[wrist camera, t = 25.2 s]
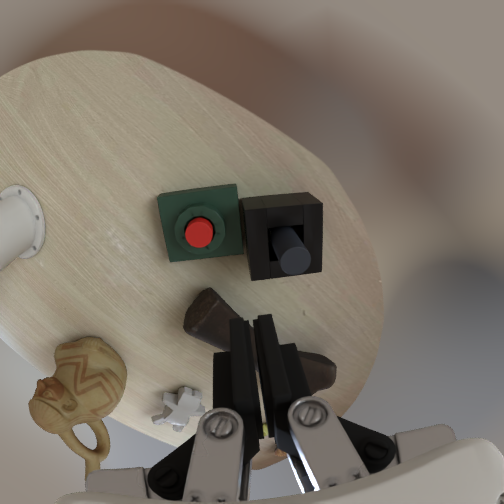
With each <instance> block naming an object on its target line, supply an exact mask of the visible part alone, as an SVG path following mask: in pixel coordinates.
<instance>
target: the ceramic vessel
mask: <svg viewBox="0 0 504 504" xmlns="http://www.w3.org/2000/svg"><path fill="white" fill-rule="evenodd" d="M54 358H55V362H56V367H57V368H56V371H55V373H54V375H53V377H50V378H49V377H46V378H44V379H43V380H41V379H39V380H38V381H37V388H36V390H35V394H34V396H33V398H32V399H31V400H30V401H29V403H28V404H29V410H30V414H31V416H32V418H33V420H34V421H35V423H36V424H37V425H38V426H39V427H41V428H42V429H43V430H45V431H47V432H49V433H52V434H58V435H59V436H60V437H61V439H62V440H63V441H64V442H65V444H66V445H67V446H68V447H69V448H70V449H71V450H72V451H74V452H75V453H76V454H78V455H79V456H81V457H82V458H84V459H85V466H86V468H85V481H86V477H87V476H88V474H89V473H90V472H92V471H94V470H99V469H100V462H102V461H104V460H105V459H106V458H107V456H108V454H109V450H110V438H109V434H108V432H107V429H106V427H105V425H104V423H103V421H102V420H101V419H102V418H104V417H106V416H107V415H109V414H110V413H111V412H112V411H113V410H114V409H115V408H116V406H117V405H118V403H119V402H120V400H121V398H122V396H123V393H124V390H125V386H126V380H127V370H126V367H125V364H124V362H123V360H122V359H121V357H120V356H119V355H118V354H117V353H116V351H115V350H114V349H113V348H111V347H110V346H109V345H108V344H106V343H105V342H103V340H102V339H101V338H93V337H85V338H82V339H80V340H78V341H76V342H70V343H63V344H60V345H58V346H57V348H56V350H55V353H54ZM82 423H87V424H88V425H89V426H90V427H91V429H92V430H93V431H94V433H95V435H96V439H97V447H96V449H94V450H91V449H89V448H87V447H86V446H84V445H83V444H82V443H81V442H80V441H79V440H78V439H77V437H76V436H75V434H74V432H73V430H72V427H73V426H75V425H77V424H82Z"/></svg>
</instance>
